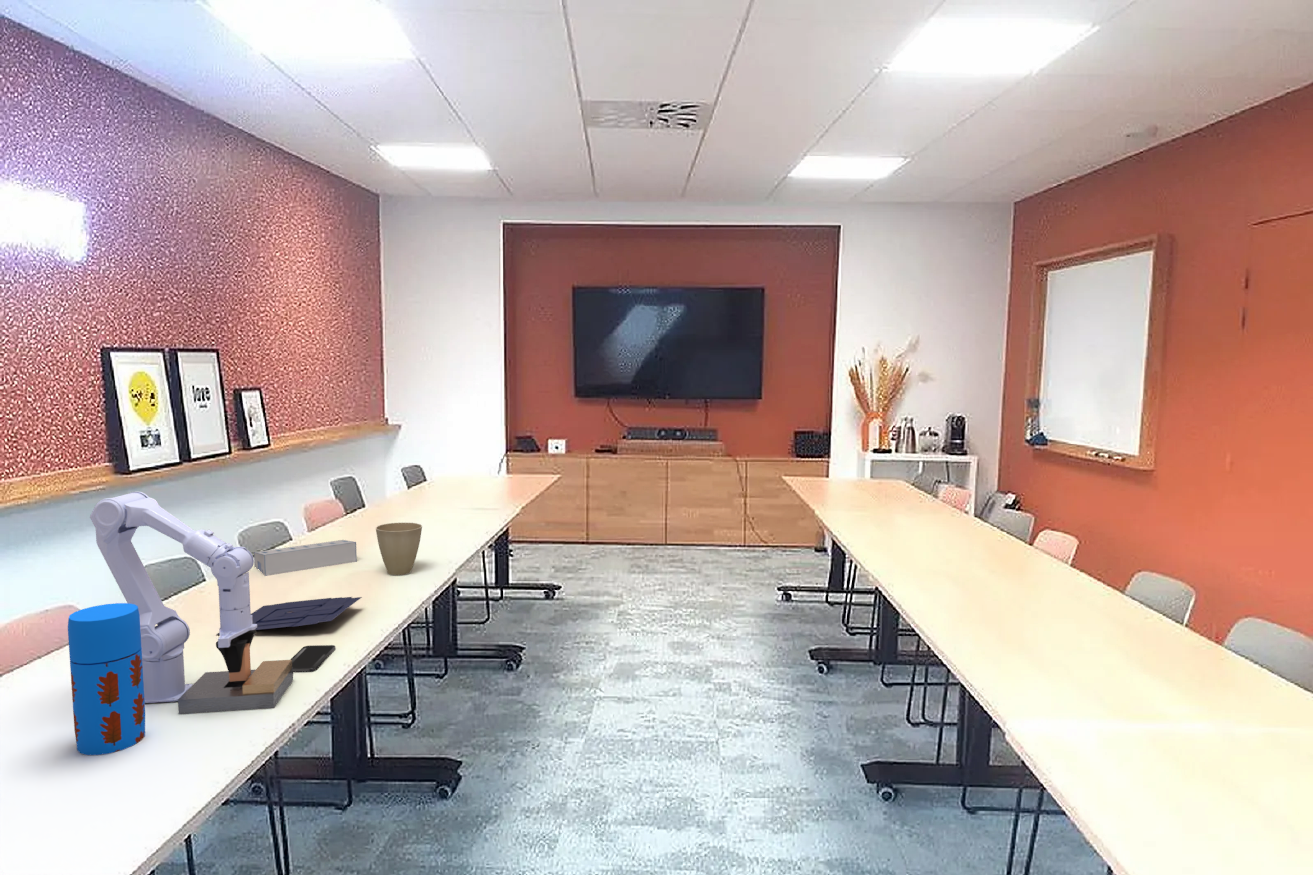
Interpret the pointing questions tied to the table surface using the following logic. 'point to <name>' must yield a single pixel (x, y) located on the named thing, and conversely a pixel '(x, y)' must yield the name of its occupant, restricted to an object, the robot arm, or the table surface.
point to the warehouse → (305, 557)
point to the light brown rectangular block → (243, 667)
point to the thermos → (106, 678)
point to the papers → (300, 612)
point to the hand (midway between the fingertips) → (237, 668)
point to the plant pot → (399, 546)
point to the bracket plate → (238, 689)
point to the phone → (311, 657)
